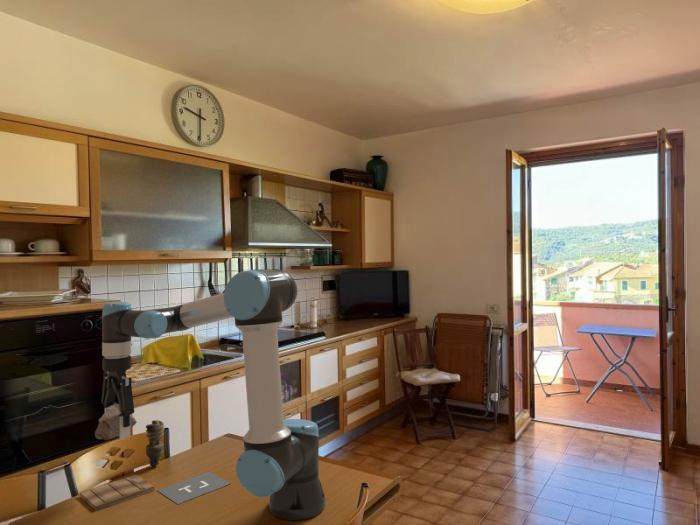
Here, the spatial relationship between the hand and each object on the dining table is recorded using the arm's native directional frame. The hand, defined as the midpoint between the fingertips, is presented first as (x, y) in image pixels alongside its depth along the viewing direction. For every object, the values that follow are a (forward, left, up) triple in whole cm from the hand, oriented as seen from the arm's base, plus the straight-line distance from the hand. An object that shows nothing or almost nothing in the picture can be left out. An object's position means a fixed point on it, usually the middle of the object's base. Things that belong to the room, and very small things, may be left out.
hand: (117, 433), depth 142 cm
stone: (0, 0, 0) cm, 0 cm away
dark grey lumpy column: (+10, -16, -18) cm, 26 cm away
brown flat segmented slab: (0, 0, -17) cm, 17 cm away
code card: (-13, -17, -17) cm, 28 cm away
